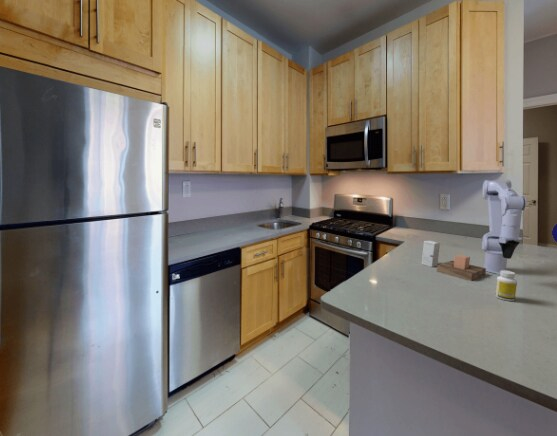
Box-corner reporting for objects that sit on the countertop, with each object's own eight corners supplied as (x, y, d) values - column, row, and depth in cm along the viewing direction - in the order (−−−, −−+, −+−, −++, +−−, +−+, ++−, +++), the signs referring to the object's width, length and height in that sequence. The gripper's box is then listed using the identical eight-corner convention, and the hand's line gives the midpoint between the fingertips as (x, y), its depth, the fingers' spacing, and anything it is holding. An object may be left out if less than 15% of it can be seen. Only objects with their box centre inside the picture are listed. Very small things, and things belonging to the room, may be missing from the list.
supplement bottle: (518, 302, 90) (522, 275, 88) (500, 300, 91) (503, 274, 89) (508, 295, 95) (511, 270, 94) (491, 294, 96) (494, 269, 95)
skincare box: (421, 263, 133) (422, 240, 131) (427, 262, 134) (428, 240, 133) (432, 267, 127) (434, 243, 125) (438, 266, 129) (440, 242, 127)
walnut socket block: (451, 266, 128) (452, 260, 128) (485, 274, 117) (486, 268, 116) (436, 271, 121) (437, 265, 121) (471, 280, 109) (471, 274, 109)
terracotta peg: (457, 270, 122) (459, 254, 121) (468, 273, 118) (469, 256, 117) (453, 272, 120) (454, 255, 119) (463, 275, 116) (465, 258, 115)
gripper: (517, 228, 97) (513, 263, 99) (530, 225, 105) (526, 257, 107) (494, 226, 103) (490, 258, 105) (507, 223, 111) (504, 253, 113)
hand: (507, 258), depth 106 cm, fingers closed
